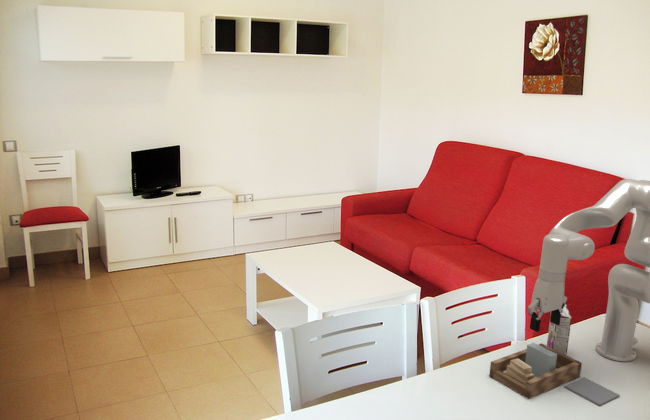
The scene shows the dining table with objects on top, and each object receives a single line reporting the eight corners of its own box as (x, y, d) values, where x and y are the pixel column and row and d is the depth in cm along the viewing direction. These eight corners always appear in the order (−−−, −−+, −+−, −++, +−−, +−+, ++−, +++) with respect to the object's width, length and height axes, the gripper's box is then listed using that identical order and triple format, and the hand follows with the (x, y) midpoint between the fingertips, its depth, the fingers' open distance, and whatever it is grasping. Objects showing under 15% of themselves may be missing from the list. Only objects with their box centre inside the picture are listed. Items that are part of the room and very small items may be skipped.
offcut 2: (517, 364, 193) (518, 358, 193) (531, 373, 188) (531, 367, 188) (509, 365, 192) (510, 360, 192) (523, 375, 187) (524, 369, 186)
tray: (539, 356, 208) (541, 343, 207) (579, 377, 196) (581, 362, 195) (489, 376, 195) (490, 361, 194) (528, 399, 183) (530, 383, 181)
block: (530, 367, 201) (533, 342, 199) (553, 380, 194) (557, 354, 191) (524, 370, 199) (527, 344, 197) (547, 382, 192) (551, 356, 190)
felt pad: (583, 378, 195) (584, 377, 195) (619, 396, 185) (619, 395, 185) (564, 387, 190) (564, 385, 189) (599, 406, 180) (599, 404, 180)
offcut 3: (512, 370, 195) (513, 363, 194) (533, 382, 188) (534, 374, 187) (506, 372, 193) (506, 365, 192) (526, 384, 187) (527, 377, 186)
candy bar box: (545, 346, 216) (551, 302, 212) (560, 347, 215) (566, 304, 211) (550, 361, 205) (556, 315, 201) (566, 363, 204) (572, 317, 200)
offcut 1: (507, 376, 196) (508, 369, 195) (534, 390, 188) (535, 382, 188) (501, 378, 194) (502, 371, 194) (528, 393, 187) (529, 385, 186)
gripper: (559, 266, 196) (552, 316, 200) (523, 275, 186) (516, 328, 191) (580, 274, 190) (572, 325, 194) (543, 283, 180) (536, 337, 185)
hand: (544, 326), depth 192 cm, fingers open, 9 cm apart
